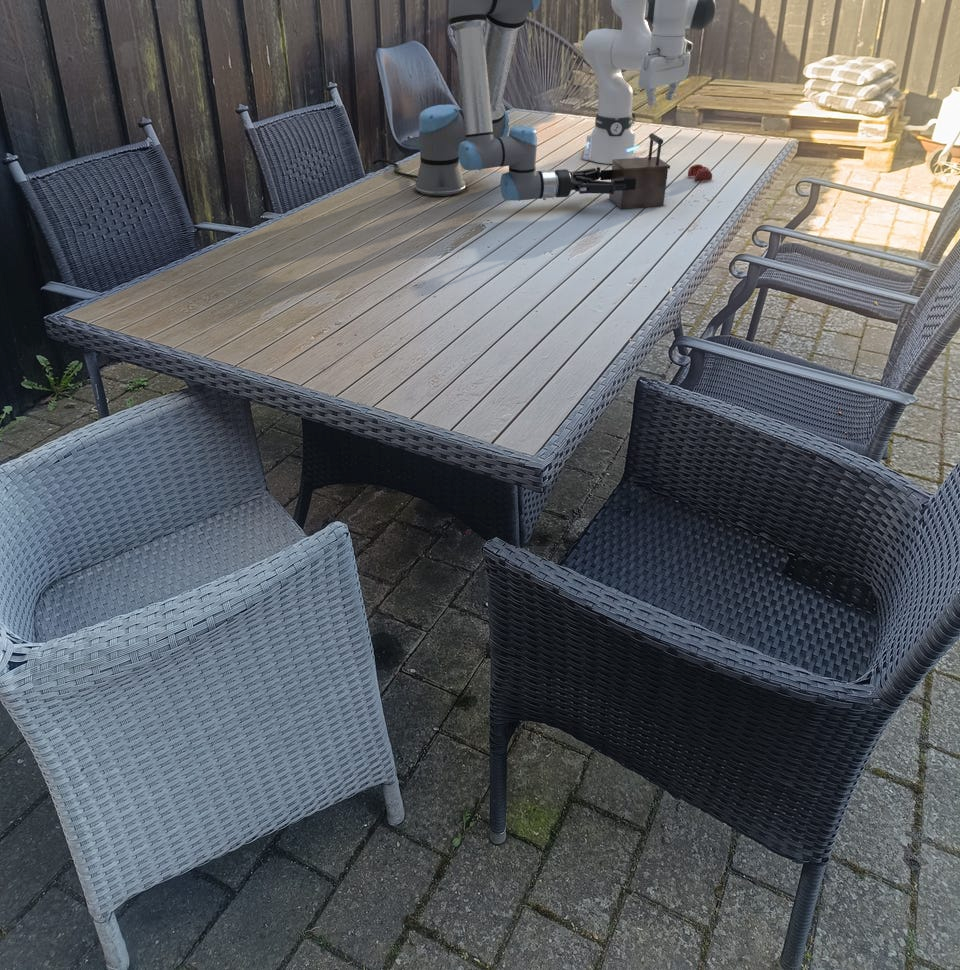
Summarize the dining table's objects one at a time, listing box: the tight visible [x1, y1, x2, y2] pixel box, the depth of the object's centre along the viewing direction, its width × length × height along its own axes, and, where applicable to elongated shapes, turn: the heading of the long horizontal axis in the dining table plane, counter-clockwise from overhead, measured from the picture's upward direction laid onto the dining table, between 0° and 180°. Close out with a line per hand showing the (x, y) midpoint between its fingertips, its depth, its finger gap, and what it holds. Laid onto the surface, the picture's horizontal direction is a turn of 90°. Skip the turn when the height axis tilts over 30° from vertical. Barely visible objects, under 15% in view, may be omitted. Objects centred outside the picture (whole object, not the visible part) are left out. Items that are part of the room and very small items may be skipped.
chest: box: [608, 162, 669, 210], centre depth 245 cm, size 13×10×10 cm
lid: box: [612, 132, 671, 171], centre depth 240 cm, size 14×10×8 cm
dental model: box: [687, 163, 713, 182], centre depth 266 cm, size 6×4×8 cm
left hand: (628, 179), depth 244 cm, fingers closed on chest, 10 cm apart
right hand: (660, 102), depth 233 cm, fingers open, 8 cm apart
